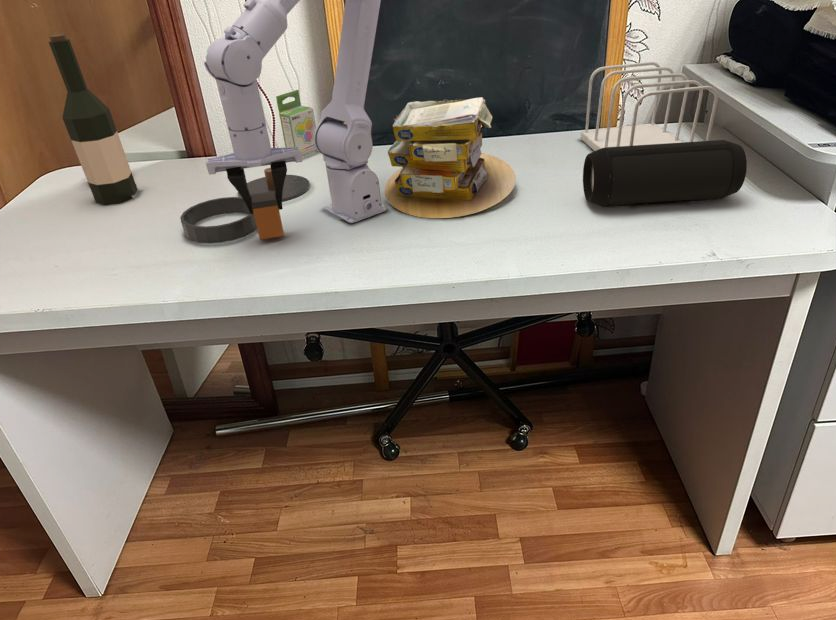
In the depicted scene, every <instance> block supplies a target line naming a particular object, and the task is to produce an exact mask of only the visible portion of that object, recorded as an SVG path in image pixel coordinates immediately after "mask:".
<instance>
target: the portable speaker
mask: <svg viewBox="0 0 836 620" xmlns="http://www.w3.org/2000/svg"><path fill="white" fill-rule="evenodd" d="M747 166H748V161H747V155H746V151H745V149H744V147H742V145H740V144H738V143H735V142H732V141H729V140H726V139H715V140H709V141H706V140H701V141H700V140H699V141H698V140H697V141H693V142H690V141H683V142H682V143H666V144H651V145H635V146H620V147H606V148H601V149H599V150H596V151H594V150H593V151H592V152H590V153H588V154H587V155H586V156H585V159H584V162H583V167H582V168H583V169H582V188H583V194H584V198H585V201H586V202H587V203H590V204H593V205H596V206H600V207H602V208H614V207H615V208H616V207H630V206H631V207H633V206H646V205H647V206H649V205H663V204H679V203H694V202H707V201H716V200H723V199H725V198H726V197H729V196H731V195H734V194H736V193H738V192H739V191H740V190H741V188H743V185H744V183H745V180H746V176H747V168H748V167H747Z"/></svg>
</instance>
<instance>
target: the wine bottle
mask: <svg viewBox="0 0 836 620" xmlns="http://www.w3.org/2000/svg"><path fill="white" fill-rule="evenodd" d="M48 38H49V40H50V41H48V44H49V47H50V50H51V52H52V55H53V58H54V60H55V63H56V65H57V68H58V70H59V73H60V76H61V78H62V82H63V83H64V86H65V89H66V92H67V93H66V98H65V103H64V107H63V113H62V117H61V118H62V121H63V123H64V126H65V128H66V131H67V134H68V136H69V138H70V141H71V143H72V145H73V148H74V151H75V153H76V157H77V159H78V161H79V164H80V166H81V168H82V171H83V174H84V176H85V179H86V181H87V183H88V184H87V185H88V186H89V189H90V191H91V194H92V197H93V199H94V202H95V203H97V204H100V205H103V206H109V205H117V204H123V203H125V202H129V201H130V200H133V199H134V197H133V196H135V195H136V193H137V191H138V187H137V184H136V181H135V178H134V176H133V175H134V174H133V172H132V169H131V167H130V163H129V161H128V158H127V155H126V153H125V149H124V147H123V144H122V141H121V138H120V135H119V132H118V129H117V127H116V124H115V121H114V118H113V116H112V113H111V110H110V108H109V107H108V106H107V105H106V104H105V103H103V101H102V100H100V98H99V97H97V95H95V94H94V93H93V92H92V91H91V90H89V89H88V87H87V83H86V81H85V78H84V75H83V73H82V70H81V67H80V64H79V61H78V59H77V56H76V53H75V51H74V48H73V45H72V42H71V39H70V38H67V36H66V34H64V33H60V34H59V33H58V34H53V35H52V34H51V35H50V36H49V37H48Z"/></svg>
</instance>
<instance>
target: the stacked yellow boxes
mask: <svg viewBox="0 0 836 620" xmlns="http://www.w3.org/2000/svg"><path fill="white" fill-rule="evenodd" d="M393 121H394V122H393V124H392V125H391V126H392V127H391V128H392V131H393V135H394V139H395V141H394V142H393V144H391V146H390V147H389V149H388V150H387V154H388V158H389V162H390V164H391V166H392V167H398V168H399V169H398V170H397V171H395V172H394V173H393V174H392V175H391V176H390V178H389V179H388V181H387V183H386V185H385V187H384V195H385V198H386V200H387V202H388V203H389V205H391V206H392V207H393V208H395V209H396V210H398V211H400V212H401V213H404V214H407V215H410V216H415V217H419V218H426V219H450V218H458V217H459V218H460V217H464V216H468V215H472V214H475V213H479V212H482V211H484V210H487V209H490V208H492V207H493V206H495V205H497V204H499V203H500V202H502V201H503V200H504V199H505V198H507V197H508V196H509V195H510V194H511V192H512V191H513V189H514V188H515V185H516V181H517V180H516V179H517V176H516V172H515V171H514V169H513V167H512V166H511V165H510V164H509V163H508V162H506V161H505V160H503V159H501V158H500V157H497V156H494V155H492V154H488V153H485V152H484V153H483V152H482V151H481V150H482V149H481V148H482V147H483V132H482V131H481V128H482V125H483V126H484V127H485V128H488V129H492V125H491V123H492V121H493V115H492V113H491V112H490V111H489V108H488V107H487V101H486V99H484V97H482V96H481V97H480V96H479V97H474V98H473V97H471V98H469V99H462V100H458V99H454V100H452V99H451V100H448V98H444V99H443V100H439V101H436V100H427V101H426V100H425V101H419V100H415V101H410V102H407V104H406V105H405V107H404V108H403V109H402V110H401V111H400V113H399V114H398V115H397V116H396V118H393Z"/></svg>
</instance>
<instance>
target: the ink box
mask: <svg viewBox="0 0 836 620" xmlns="http://www.w3.org/2000/svg"><path fill="white" fill-rule="evenodd" d="M275 98H276V105H277V110H278V116H279V119H280V126H281V131H282V136H283V141H284V148H287V147H300V151H301V157H302V158H303V157H305V156H307V155H310V154H312V153H315V152H318V150H317V149H316V147H315V144H314V132H315V129H316V127H317V124H316V118H315V112H314V108H313V107H311V106H305V105H302V104H301V103H302V102H301V97H300V91H299V89H296V90H293V91H289V92H286V93H282V94H279V95H276V96H275ZM288 98H294V100H291V101H288V102H286V103H283V102H284V101H285V100H287V99H288Z"/></svg>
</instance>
